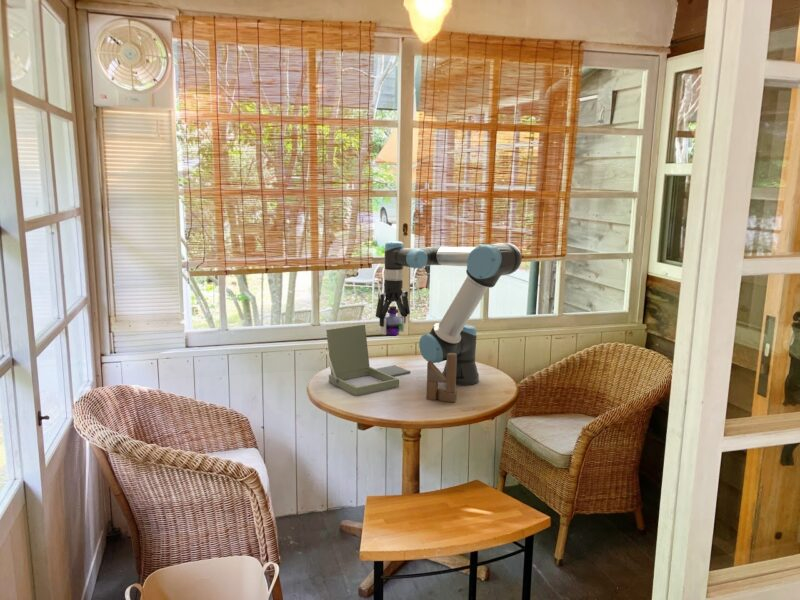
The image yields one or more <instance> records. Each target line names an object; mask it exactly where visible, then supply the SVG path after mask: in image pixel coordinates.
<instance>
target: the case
mask: <svg viewBox="0 0 800 600" xmlns="http://www.w3.org/2000/svg"><path fill="white" fill-rule="evenodd" d="M325 331H326V340H327V348H328V350H325V351H324V352H325V354H326V358H327V361H328V363H329V366H330V367H329V368H330V374H329V375H328V383H330V384H332V385H334V386H335V387H338V388H339V389H342V390H344V391H346V392H348V393H350V394H351V395H353V396H356V397H357V396H362V395H367V394H371V393H376V392H380V391H384V390H389V389H394V388H398V387H399V386H400V379H399V378H397V377H396V376H394V377H393V376H391V375H388V374H386V373H384V372H381V371H379V370H377V368H374V367H372V366H370V358H369V350H368V339H367V330H366V324H358V325H352V326H351V325H350V326H344V327H339V328H338V327H336V328H331V329H330V328H329V329H325ZM365 375H366V376H371V375H372V376H371V377H374V378H376V379H378V380H381V381H379V382H374V383H369V384H365V385H364V384H363V385H360V386H356V385H353V384H351V383H349V382H347V381H345V380H350V379H356V378H360V376H361V377H366V376H365Z"/></svg>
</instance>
